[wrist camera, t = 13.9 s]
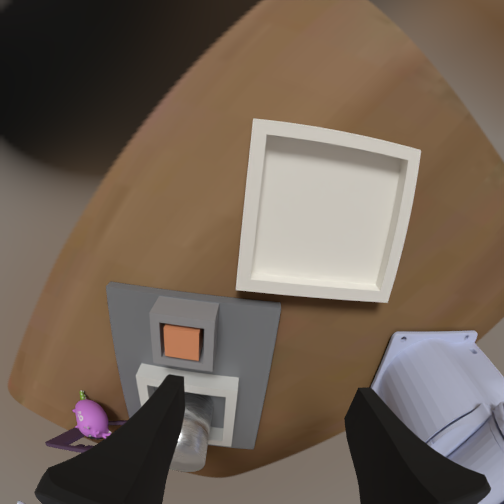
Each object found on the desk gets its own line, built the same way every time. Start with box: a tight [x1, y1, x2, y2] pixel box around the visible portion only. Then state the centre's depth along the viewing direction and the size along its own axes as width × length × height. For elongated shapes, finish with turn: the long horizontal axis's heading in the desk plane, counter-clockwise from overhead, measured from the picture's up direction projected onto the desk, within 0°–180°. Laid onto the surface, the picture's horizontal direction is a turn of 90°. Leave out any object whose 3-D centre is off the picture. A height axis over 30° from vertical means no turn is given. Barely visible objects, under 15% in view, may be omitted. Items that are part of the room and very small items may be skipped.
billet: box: [169, 392, 214, 472], centre depth 20 cm, size 4×4×6 cm
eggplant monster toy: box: [45, 391, 127, 453], centre depth 22 cm, size 7×5×9 cm
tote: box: [236, 119, 421, 303], centre depth 18 cm, size 10×10×1 cm
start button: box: [164, 323, 203, 361], centre depth 19 cm, size 2×2×2 cm
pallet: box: [106, 282, 281, 449], centre depth 22 cm, size 12×16×3 cm
